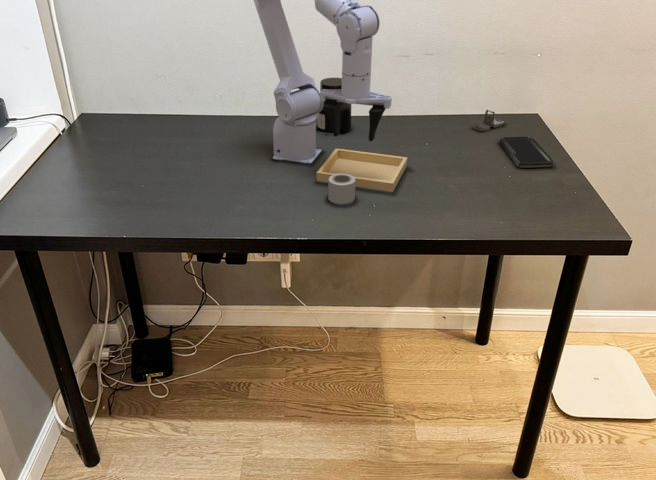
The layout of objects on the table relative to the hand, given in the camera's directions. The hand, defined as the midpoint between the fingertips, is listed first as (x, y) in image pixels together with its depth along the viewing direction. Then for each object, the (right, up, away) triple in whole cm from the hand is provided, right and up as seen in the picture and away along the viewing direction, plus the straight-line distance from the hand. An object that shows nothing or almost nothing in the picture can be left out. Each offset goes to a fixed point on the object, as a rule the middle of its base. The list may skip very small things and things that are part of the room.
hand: (354, 137), depth 136 cm
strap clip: (+37, +8, +28) cm, 47 cm away
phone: (+41, -1, +14) cm, 43 cm away
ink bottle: (-3, +8, +29) cm, 31 cm away
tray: (+2, -7, +6) cm, 10 cm away
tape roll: (-3, -14, -4) cm, 14 cm away
